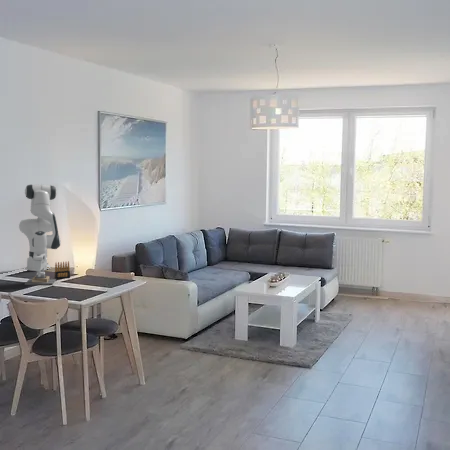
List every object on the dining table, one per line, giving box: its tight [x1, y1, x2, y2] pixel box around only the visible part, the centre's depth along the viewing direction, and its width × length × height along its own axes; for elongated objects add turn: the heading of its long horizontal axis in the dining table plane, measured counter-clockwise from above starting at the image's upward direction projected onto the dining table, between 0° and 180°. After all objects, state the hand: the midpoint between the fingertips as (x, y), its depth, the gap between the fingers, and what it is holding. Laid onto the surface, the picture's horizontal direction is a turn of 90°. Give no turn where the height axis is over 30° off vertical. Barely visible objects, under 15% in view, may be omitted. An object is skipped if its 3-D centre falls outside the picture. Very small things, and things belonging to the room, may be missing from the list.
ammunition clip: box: [54, 260, 71, 280], centre depth 421 cm, size 11×2×12 cm, turn 120°
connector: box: [35, 271, 46, 278], centre depth 405 cm, size 4×5×6 cm
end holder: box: [24, 275, 57, 286], centre depth 405 cm, size 16×18×4 cm
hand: (40, 275), depth 405 cm, fingers open, 8 cm apart
